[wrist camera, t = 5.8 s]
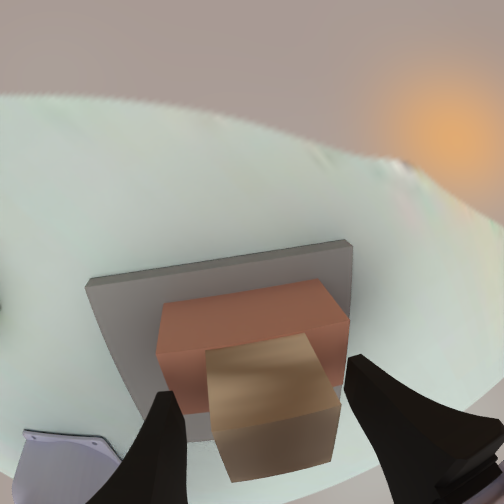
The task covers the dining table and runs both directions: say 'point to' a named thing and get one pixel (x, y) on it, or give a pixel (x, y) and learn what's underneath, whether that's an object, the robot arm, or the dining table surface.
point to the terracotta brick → (247, 332)
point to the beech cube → (271, 407)
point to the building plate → (192, 287)
